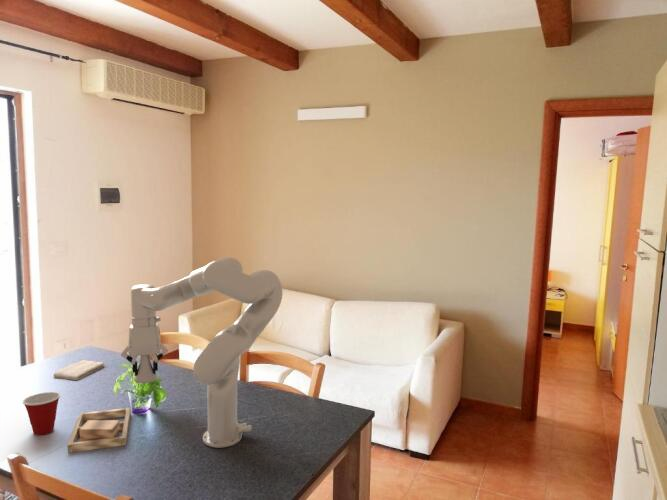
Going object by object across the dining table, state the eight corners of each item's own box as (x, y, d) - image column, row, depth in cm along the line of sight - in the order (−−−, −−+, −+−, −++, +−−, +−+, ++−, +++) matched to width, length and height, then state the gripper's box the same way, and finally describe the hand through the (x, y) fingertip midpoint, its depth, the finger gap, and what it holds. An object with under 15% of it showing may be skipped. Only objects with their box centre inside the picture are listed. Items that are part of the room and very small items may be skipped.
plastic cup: (56, 420, 172) (54, 387, 170) (66, 431, 164) (64, 397, 163) (20, 430, 164) (18, 396, 163) (29, 442, 157) (27, 407, 155)
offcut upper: (119, 428, 162) (119, 420, 162) (112, 438, 156) (112, 429, 156) (88, 428, 161) (88, 420, 161) (80, 438, 156) (79, 429, 155)
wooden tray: (130, 414, 178) (130, 407, 177) (125, 445, 157) (125, 437, 157) (79, 420, 172) (79, 413, 172) (68, 452, 152) (67, 445, 151)
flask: (161, 379, 169) (160, 350, 168) (143, 385, 163) (142, 356, 162) (147, 374, 173) (147, 346, 172) (129, 380, 167) (128, 352, 166)
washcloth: (106, 367, 223) (105, 360, 222) (77, 382, 206) (77, 375, 205) (83, 364, 225) (83, 357, 225) (53, 378, 208) (52, 371, 208)
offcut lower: (118, 435, 163) (117, 427, 163) (115, 445, 158) (115, 436, 157) (85, 439, 161) (84, 430, 160) (80, 448, 155) (80, 439, 155)
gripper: (170, 317, 172) (171, 367, 174) (117, 320, 166) (119, 371, 168) (171, 322, 165) (172, 375, 167) (115, 326, 159) (117, 380, 161)
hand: (145, 372), depth 168 cm, fingers closed on flask, 5 cm apart
